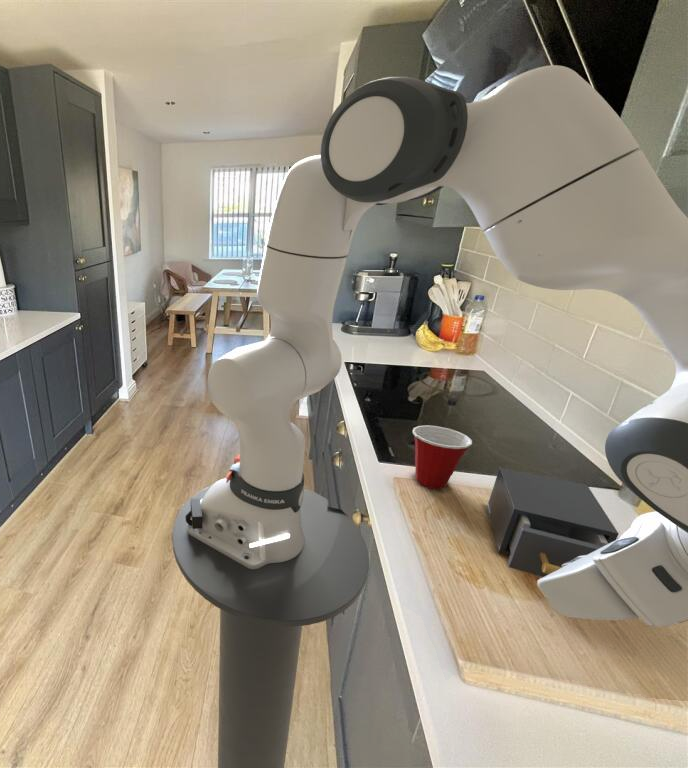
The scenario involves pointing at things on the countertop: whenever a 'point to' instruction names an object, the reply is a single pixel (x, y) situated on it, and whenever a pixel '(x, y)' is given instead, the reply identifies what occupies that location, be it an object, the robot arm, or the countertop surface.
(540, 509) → the cabinet
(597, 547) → the drawer
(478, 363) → the countertop surface
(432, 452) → the plastic cup
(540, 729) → the countertop surface
